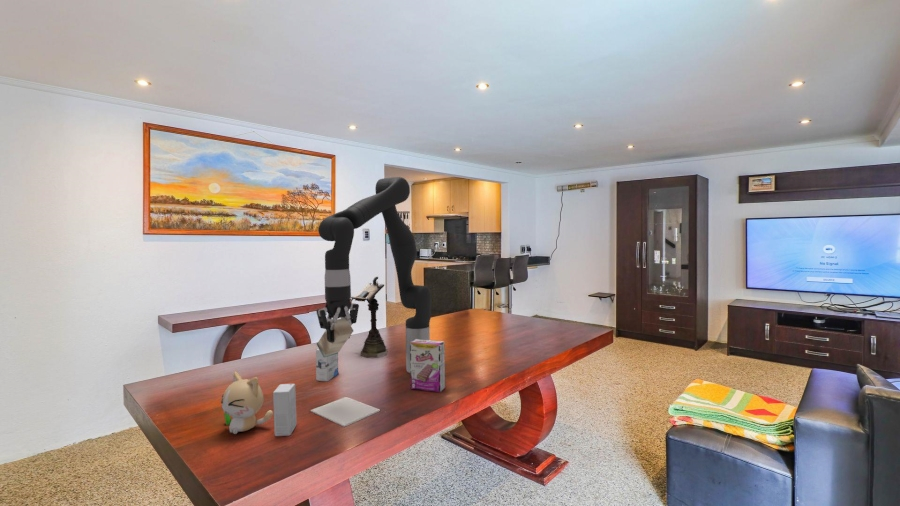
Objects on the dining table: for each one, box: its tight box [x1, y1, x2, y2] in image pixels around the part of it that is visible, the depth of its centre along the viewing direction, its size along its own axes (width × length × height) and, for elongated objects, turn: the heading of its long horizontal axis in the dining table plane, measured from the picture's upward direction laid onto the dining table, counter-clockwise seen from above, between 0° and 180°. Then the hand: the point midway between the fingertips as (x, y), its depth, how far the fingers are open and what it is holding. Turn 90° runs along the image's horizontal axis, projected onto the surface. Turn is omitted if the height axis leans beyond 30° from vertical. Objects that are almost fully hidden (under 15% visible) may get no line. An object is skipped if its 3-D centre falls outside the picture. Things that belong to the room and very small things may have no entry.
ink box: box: [315, 347, 339, 382], centre depth 154 cm, size 9×5×12 cm, turn 168°
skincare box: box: [272, 383, 298, 437], centre depth 112 cm, size 6×4×12 cm
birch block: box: [316, 318, 354, 357], centre depth 126 cm, size 5×5×12 cm
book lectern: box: [350, 276, 388, 359], centre depth 181 cm, size 17×13×35 cm
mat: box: [310, 396, 381, 428], centre depth 124 cm, size 16×13×1 cm
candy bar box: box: [410, 339, 446, 393], centre depth 141 cm, size 11×5×16 cm, turn 71°
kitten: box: [220, 371, 274, 435], centre depth 113 cm, size 15×10×15 cm
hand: (339, 339), depth 125 cm, fingers closed on birch block, 5 cm apart
